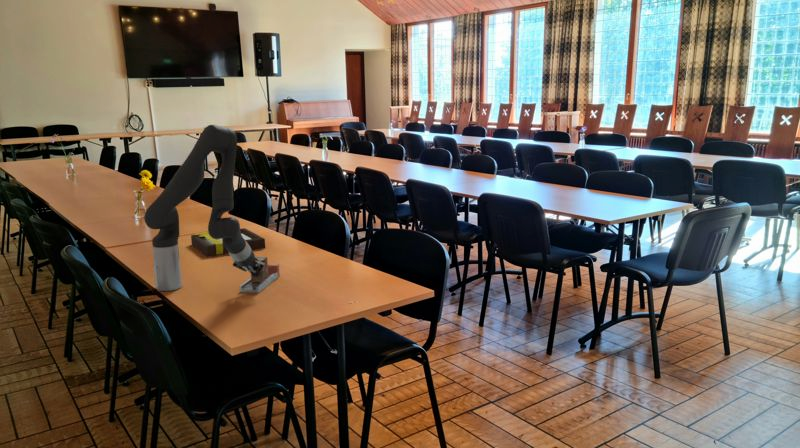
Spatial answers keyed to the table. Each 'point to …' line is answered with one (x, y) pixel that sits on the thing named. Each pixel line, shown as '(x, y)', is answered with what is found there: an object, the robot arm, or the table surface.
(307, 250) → the table surface
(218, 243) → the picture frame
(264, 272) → the slider block
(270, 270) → the track
